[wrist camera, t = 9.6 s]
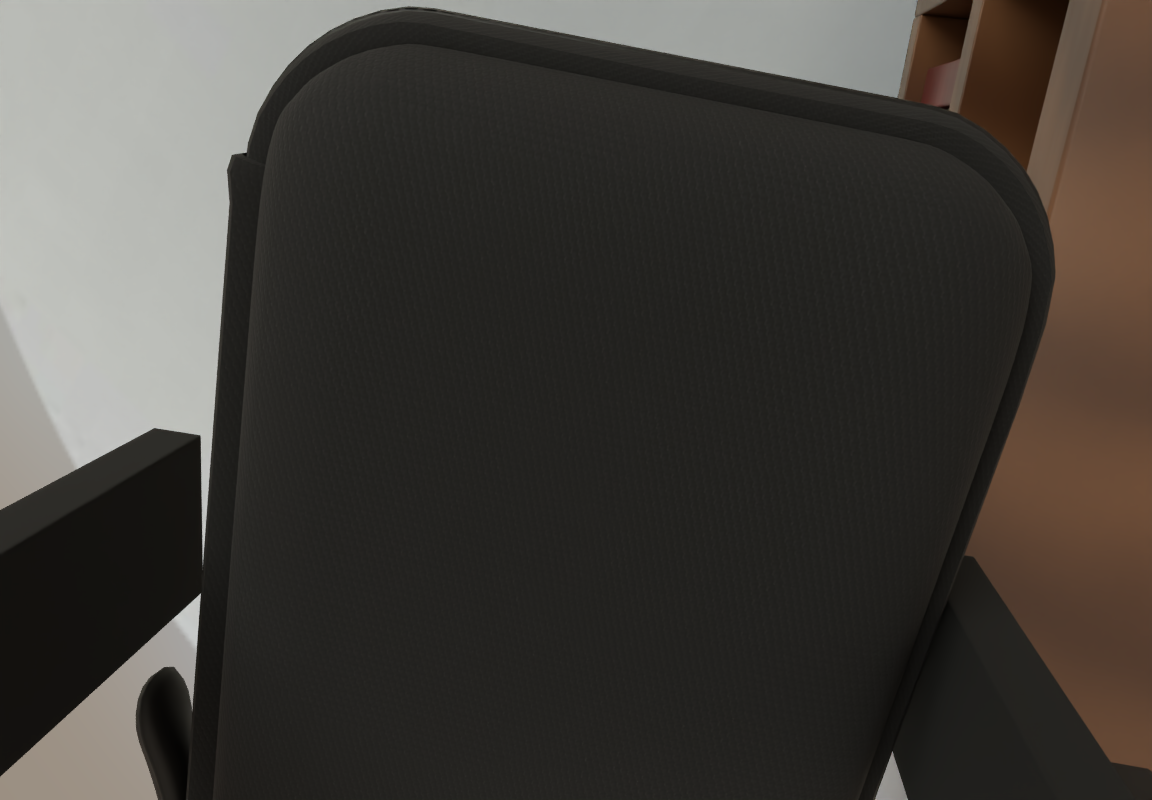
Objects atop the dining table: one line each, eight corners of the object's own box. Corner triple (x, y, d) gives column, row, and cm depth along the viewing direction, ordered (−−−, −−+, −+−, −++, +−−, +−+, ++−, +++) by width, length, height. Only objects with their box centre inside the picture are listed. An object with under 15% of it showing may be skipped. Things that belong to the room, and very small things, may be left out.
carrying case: (243, -19, 12) (186, 843, 16) (95, -70, 9) (75, 998, 13) (1051, 139, 11) (757, 996, 15) (1181, 139, 8) (771, 1194, 13)
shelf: (924, -32, 31) (1157, -206, 15) (1192, -6, 30) (1716, -162, 15) (816, 493, 37) (908, 743, 21) (1038, 526, 36) (1300, 809, 21)
